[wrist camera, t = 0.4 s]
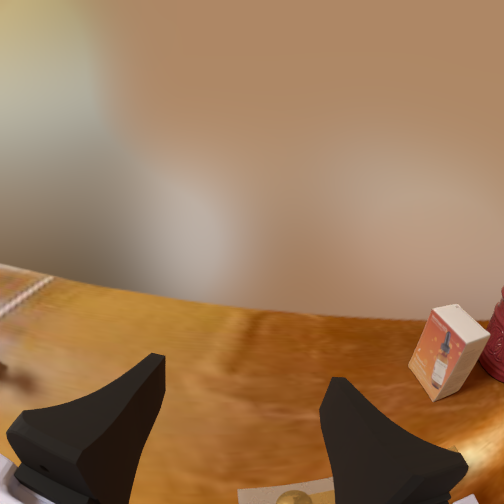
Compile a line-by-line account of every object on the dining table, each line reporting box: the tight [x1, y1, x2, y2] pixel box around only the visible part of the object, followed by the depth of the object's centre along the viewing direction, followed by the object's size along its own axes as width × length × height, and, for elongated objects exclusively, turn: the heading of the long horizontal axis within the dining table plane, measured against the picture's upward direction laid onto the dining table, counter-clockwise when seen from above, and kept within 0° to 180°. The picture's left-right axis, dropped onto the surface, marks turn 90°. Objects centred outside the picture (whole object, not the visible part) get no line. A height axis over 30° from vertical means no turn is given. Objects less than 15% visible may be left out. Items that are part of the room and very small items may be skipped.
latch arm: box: [276, 446, 459, 504], centre depth 14 cm, size 15×2×2 cm, turn 95°
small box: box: [408, 304, 490, 402], centre depth 31 cm, size 8×6×10 cm
